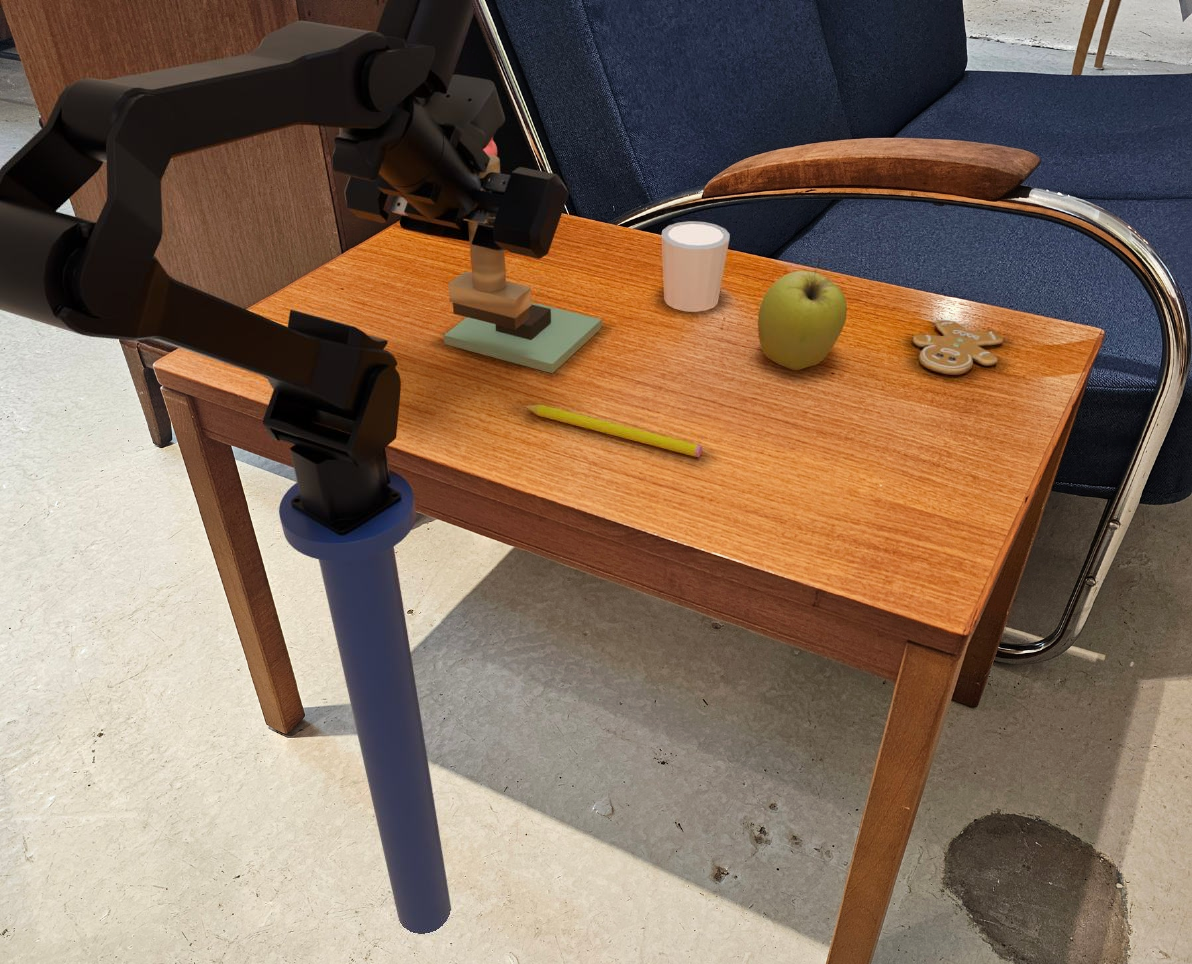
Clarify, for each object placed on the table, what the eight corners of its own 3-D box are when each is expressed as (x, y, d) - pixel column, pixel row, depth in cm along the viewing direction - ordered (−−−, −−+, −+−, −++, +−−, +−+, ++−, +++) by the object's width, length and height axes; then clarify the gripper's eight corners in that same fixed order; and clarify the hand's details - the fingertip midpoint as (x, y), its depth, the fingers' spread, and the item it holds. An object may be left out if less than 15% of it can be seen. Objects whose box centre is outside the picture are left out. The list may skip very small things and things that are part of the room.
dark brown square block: (531, 340, 101) (530, 326, 100) (495, 331, 102) (494, 316, 101) (551, 322, 103) (551, 308, 102) (516, 314, 105) (515, 299, 104)
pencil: (701, 453, 88) (702, 443, 87) (697, 459, 87) (698, 449, 87) (527, 408, 93) (526, 398, 93) (521, 413, 93) (521, 403, 92)
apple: (745, 324, 103) (788, 232, 96) (820, 354, 103) (868, 265, 97) (736, 364, 97) (782, 270, 90) (816, 396, 98) (867, 305, 91)
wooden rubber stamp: (516, 331, 94) (508, 172, 85) (450, 314, 97) (435, 158, 87) (532, 317, 96) (527, 161, 87) (467, 301, 99) (455, 147, 89)
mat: (552, 373, 98) (552, 364, 97) (444, 344, 102) (443, 334, 101) (601, 328, 105) (601, 319, 104) (498, 302, 109) (497, 293, 108)
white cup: (731, 290, 111) (737, 225, 106) (715, 319, 106) (720, 252, 101) (668, 280, 113) (672, 216, 108) (649, 308, 108) (652, 242, 103)
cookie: (1015, 334, 102) (982, 377, 96) (1013, 343, 103) (979, 386, 96) (933, 311, 105) (895, 351, 99) (931, 320, 106) (893, 360, 100)
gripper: (554, 65, 75) (619, 173, 90) (344, 32, 82) (436, 138, 96) (503, 212, 75) (576, 296, 90) (296, 168, 81) (396, 253, 96)
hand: (495, 241), depth 93 cm, fingers closed on wooden rubber stamp, 3 cm apart
